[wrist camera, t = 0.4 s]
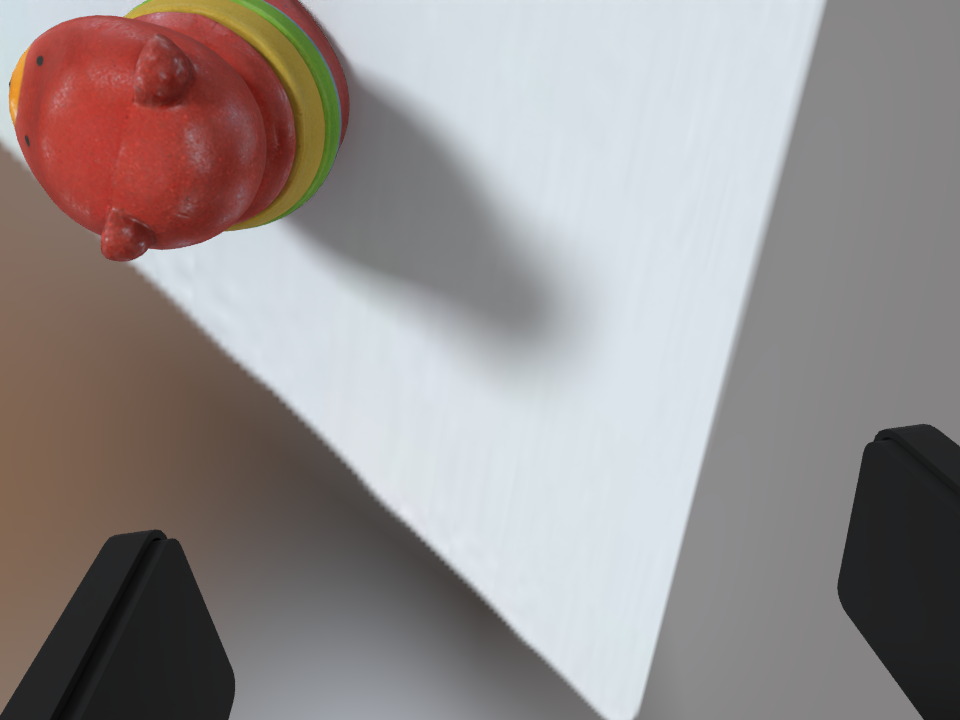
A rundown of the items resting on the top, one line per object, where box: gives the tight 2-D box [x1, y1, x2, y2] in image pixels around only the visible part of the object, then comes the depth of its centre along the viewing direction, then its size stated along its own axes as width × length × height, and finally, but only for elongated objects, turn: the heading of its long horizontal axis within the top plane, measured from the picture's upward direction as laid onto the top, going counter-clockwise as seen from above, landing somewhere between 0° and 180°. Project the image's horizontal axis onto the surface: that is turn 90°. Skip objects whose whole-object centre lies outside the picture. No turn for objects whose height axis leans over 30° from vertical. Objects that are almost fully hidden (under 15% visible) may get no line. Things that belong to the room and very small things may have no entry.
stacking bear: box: [9, 0, 349, 262], centre depth 26 cm, size 11×10×18 cm
